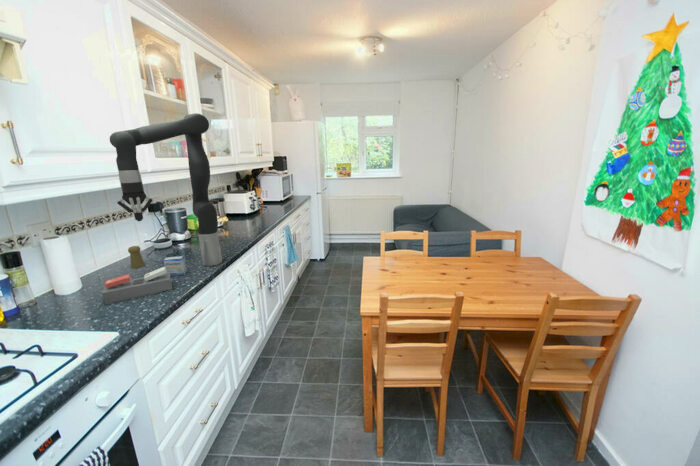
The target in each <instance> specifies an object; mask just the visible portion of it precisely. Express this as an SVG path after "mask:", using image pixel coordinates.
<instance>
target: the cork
mask: <svg viewBox="0 0 700 466" xmlns="http://www.w3.org/2000/svg"><path fill="white" fill-rule="evenodd" d="M127 251H128V253H129V255H130V258H129V259H130V268H131V269H140V268H143V267H145V262H144V259H143V256H142V254H141V247H140V246H139V245H132V246H130V247H129V246H128V249H127Z"/></svg>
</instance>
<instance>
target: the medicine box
mask: <svg viewBox="0 0 700 466" xmlns="http://www.w3.org/2000/svg"><path fill="white" fill-rule="evenodd" d="M163 264H164V267H165V268H166V273H169V272H170V277H175V276H176V277H177V276H184V275H185V274H186V273H187V266H186V260H185V256H184V255H180V256H178V255H177V256H169V257H167V256H166V257H165V258H164V260H163Z"/></svg>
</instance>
